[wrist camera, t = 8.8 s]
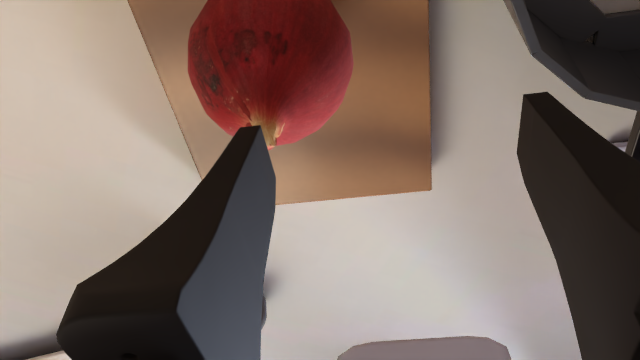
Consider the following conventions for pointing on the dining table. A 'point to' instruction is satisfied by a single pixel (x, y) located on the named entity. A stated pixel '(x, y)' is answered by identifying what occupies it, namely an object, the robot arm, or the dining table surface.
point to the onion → (270, 65)
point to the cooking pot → (586, 51)
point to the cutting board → (345, 124)
